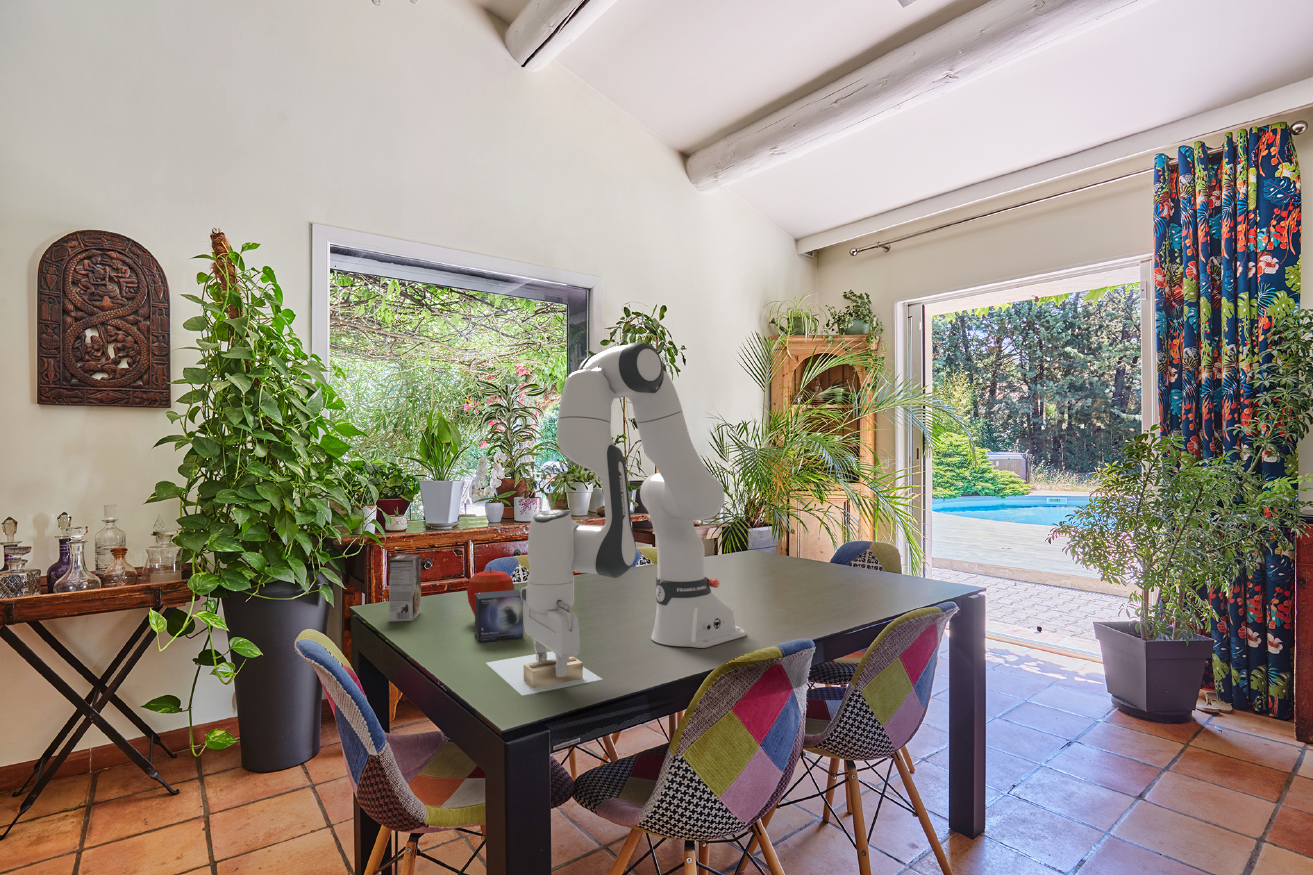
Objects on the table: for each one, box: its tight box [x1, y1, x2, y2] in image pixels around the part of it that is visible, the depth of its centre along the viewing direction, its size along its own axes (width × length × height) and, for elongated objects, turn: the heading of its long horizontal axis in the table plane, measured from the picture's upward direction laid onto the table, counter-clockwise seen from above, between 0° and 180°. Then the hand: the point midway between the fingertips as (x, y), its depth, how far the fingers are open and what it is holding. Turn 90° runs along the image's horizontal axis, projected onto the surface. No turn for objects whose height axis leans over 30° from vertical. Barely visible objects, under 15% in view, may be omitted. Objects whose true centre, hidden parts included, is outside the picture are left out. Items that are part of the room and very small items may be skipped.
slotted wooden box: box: [524, 656, 584, 688], centre depth 129 cm, size 10×5×3 cm, turn 121°
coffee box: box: [388, 554, 422, 622], centre depth 181 cm, size 9×6×16 cm
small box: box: [473, 589, 524, 644], centre depth 160 cm, size 11×6×10 cm, turn 114°
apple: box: [466, 567, 515, 616], centre depth 175 cm, size 12×12×14 cm
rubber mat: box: [485, 650, 604, 696], centre depth 134 cm, size 16×22×1 cm
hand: (550, 668), depth 129 cm, fingers open, 8 cm apart
